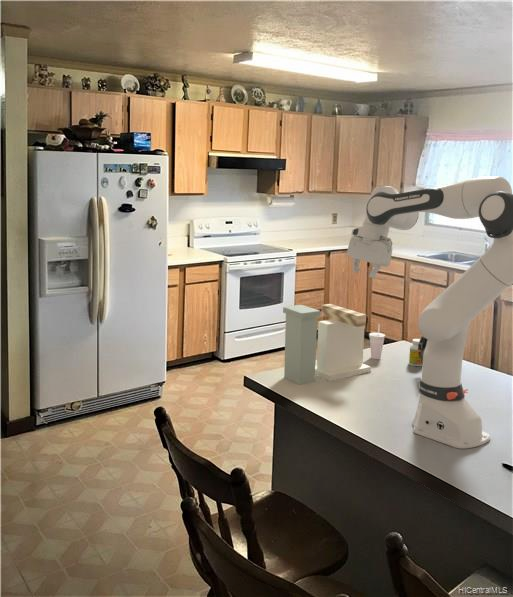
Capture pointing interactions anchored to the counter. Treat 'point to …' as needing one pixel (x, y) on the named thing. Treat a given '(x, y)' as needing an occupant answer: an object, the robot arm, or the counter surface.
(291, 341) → the tall grey square pillar
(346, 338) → the white slab on base
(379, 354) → the smoothie
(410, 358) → the supplement bottle
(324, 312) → the rod
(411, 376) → the counter surface
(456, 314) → the robot arm
